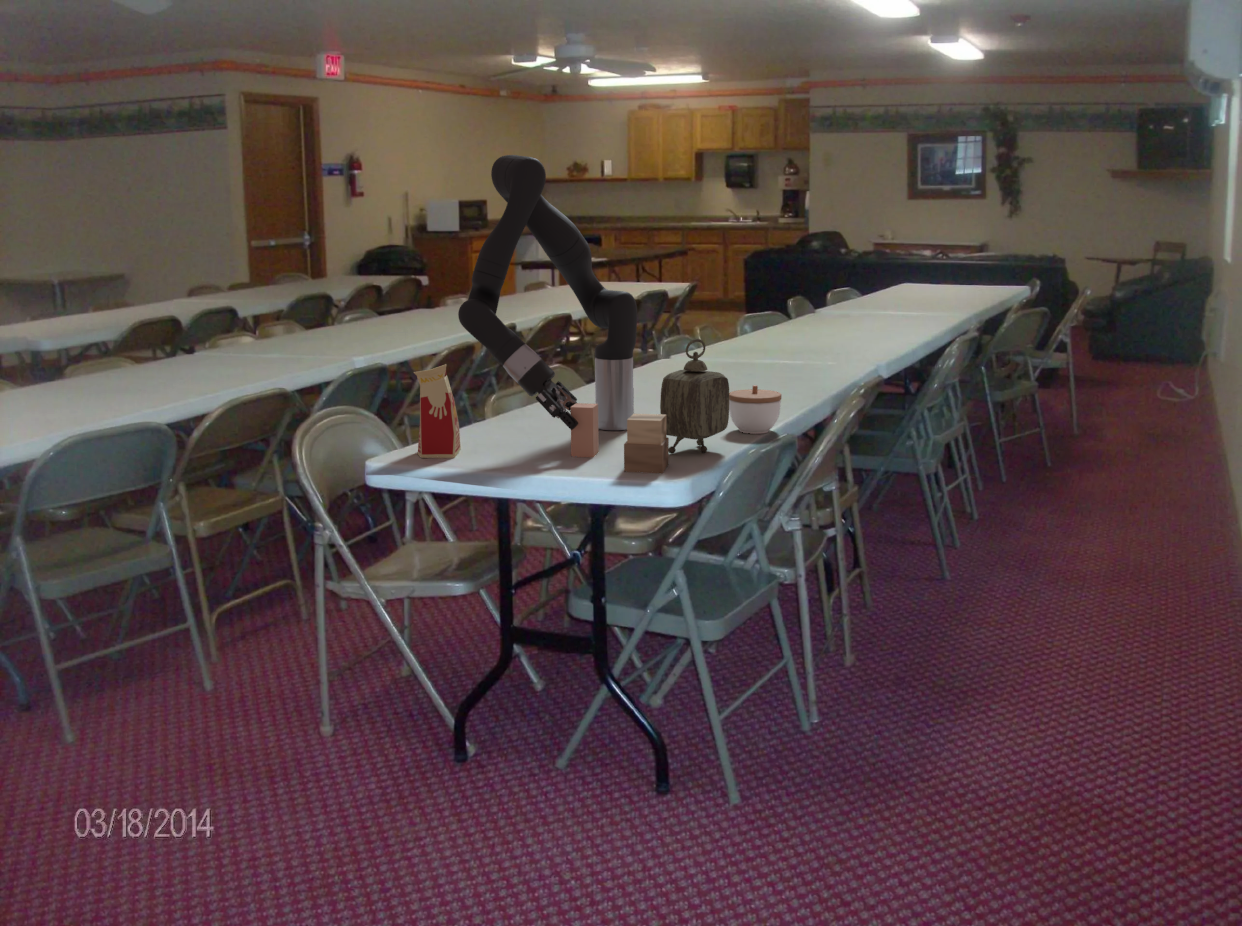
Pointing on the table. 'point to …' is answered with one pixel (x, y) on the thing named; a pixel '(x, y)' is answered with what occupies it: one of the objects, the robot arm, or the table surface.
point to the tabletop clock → (694, 401)
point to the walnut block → (646, 457)
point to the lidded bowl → (754, 409)
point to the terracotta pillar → (585, 430)
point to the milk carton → (437, 416)
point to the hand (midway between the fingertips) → (580, 423)
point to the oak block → (646, 429)
